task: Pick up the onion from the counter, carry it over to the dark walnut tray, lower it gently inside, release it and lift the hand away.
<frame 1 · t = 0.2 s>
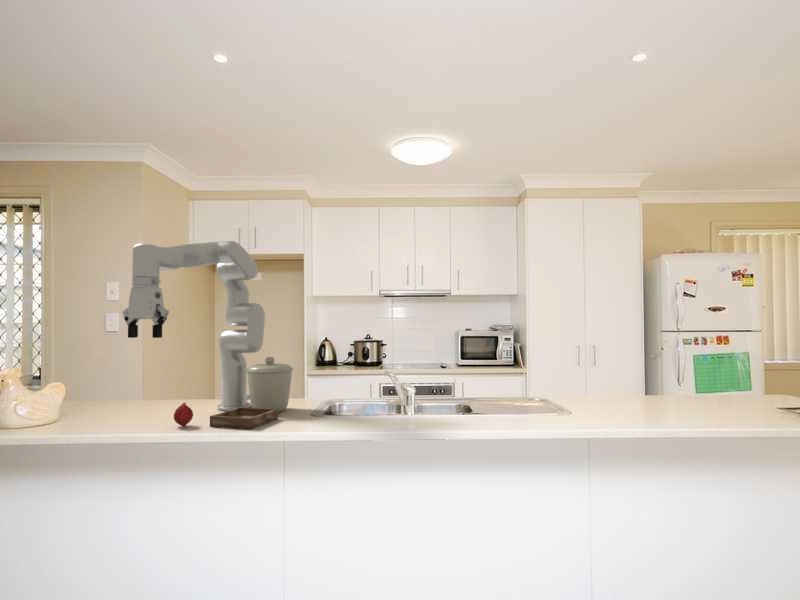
hand: (144, 337, 144), 30 cm above the worktop, tool pointing down, fingers open, 9 cm apart
onion: (183, 427, 154), on the worktop
walnut tray: (244, 422, 159), on the worktop
canister: (269, 411, 179), on the worktop
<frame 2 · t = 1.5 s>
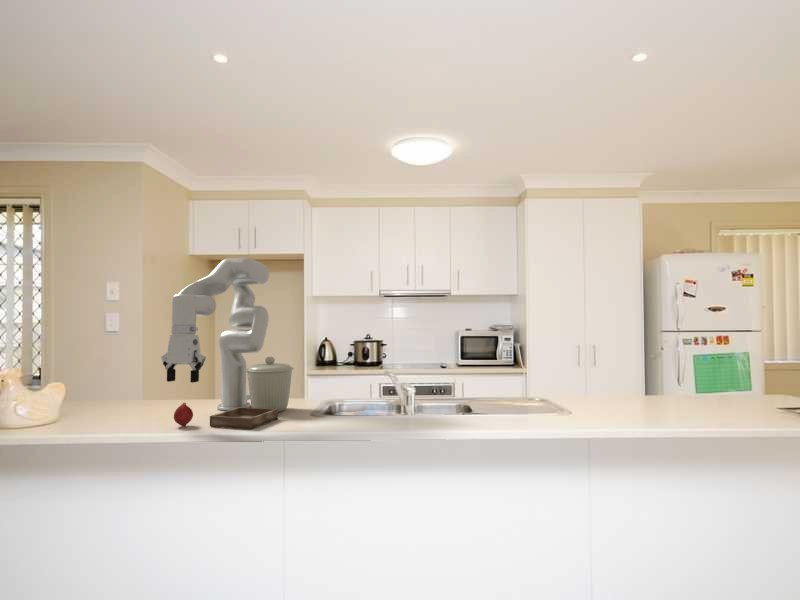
hand: (182, 381, 154), 15 cm above the worktop, tool pointing down, fingers open, 9 cm apart
nothing on the worktop moved.
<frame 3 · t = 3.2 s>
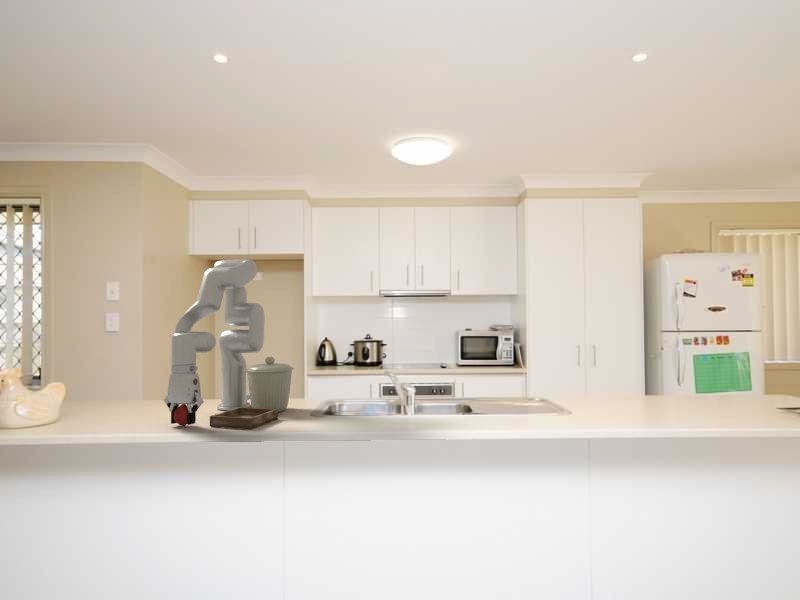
hand: (183, 422, 154), 1 cm above the worktop, tool pointing down, fingers closed on onion, 5 cm apart
onion: (183, 427, 154), on the worktop, touching gripper
everything else where it was.
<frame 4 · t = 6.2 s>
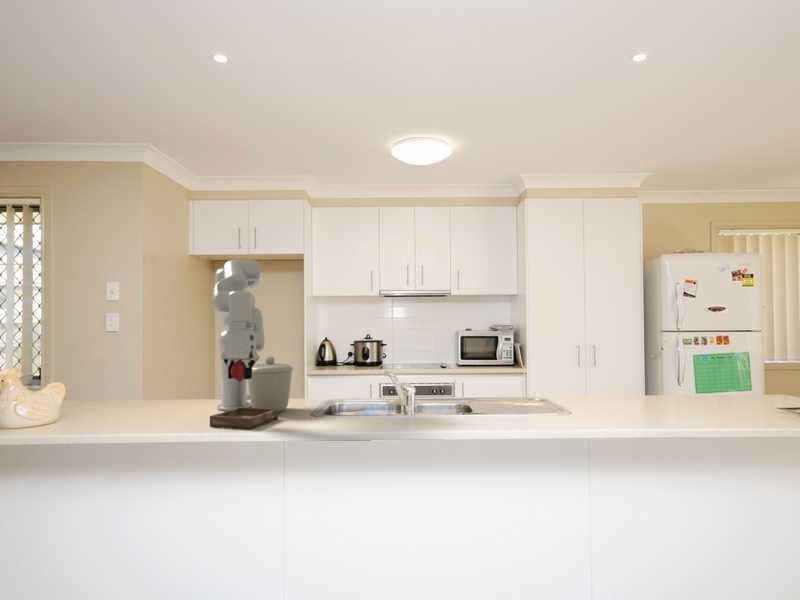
hand: (239, 378, 159), 15 cm above the worktop, tool pointing down, fingers closed on onion, 5 cm apart
onion: (239, 382, 159), point 14 cm above the worktop, touching gripper
everything else where it was.
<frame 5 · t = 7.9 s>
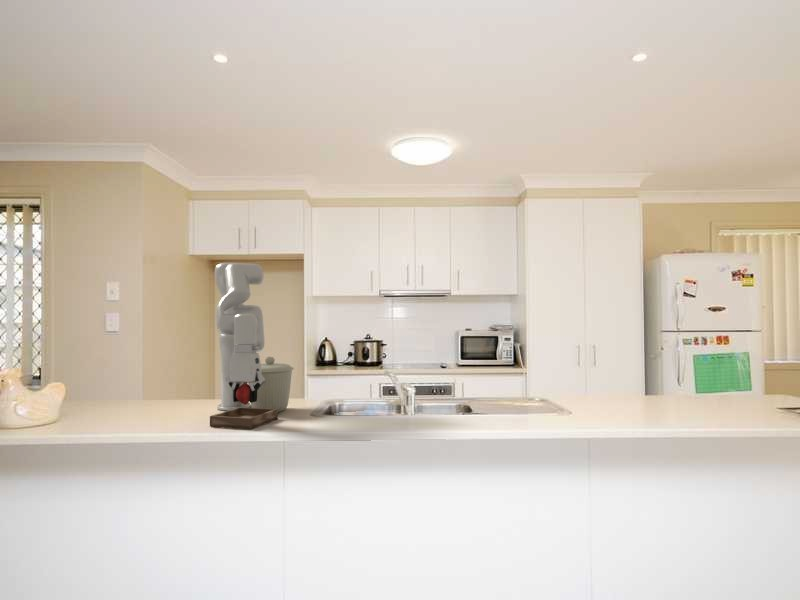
hand: (245, 401, 159), 7 cm above the worktop, tool pointing down, fingers closed on onion, 5 cm apart
onion: (244, 405, 159), point 6 cm above the worktop, touching gripper
everything else where it was.
when the fingers open (4 cm above the worktop, at t = 9.1 s): onion drops 2 cm, resting on walnut tray.
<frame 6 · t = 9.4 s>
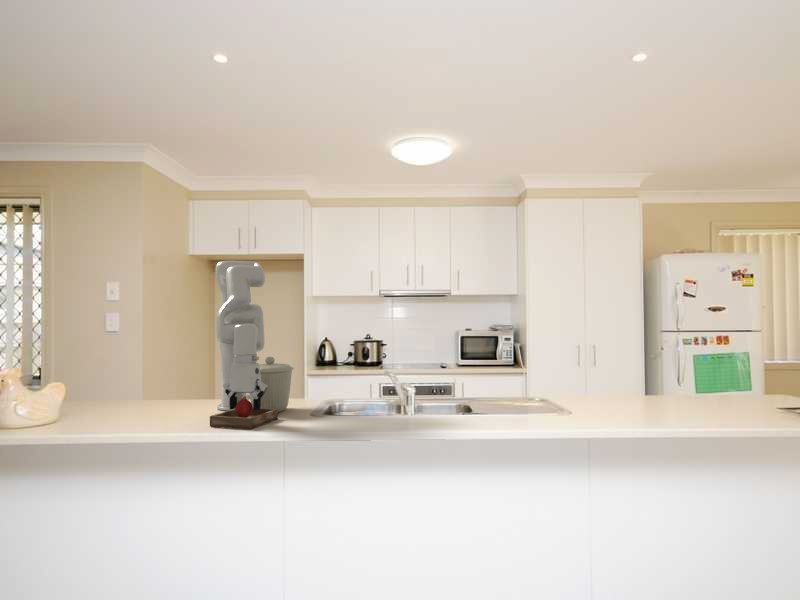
hand: (245, 409, 159), 5 cm above the worktop, tool pointing down, fingers open, 9 cm apart
onion: (244, 420, 159), point 1 cm above the worktop, touching walnut tray
everything else where it was.
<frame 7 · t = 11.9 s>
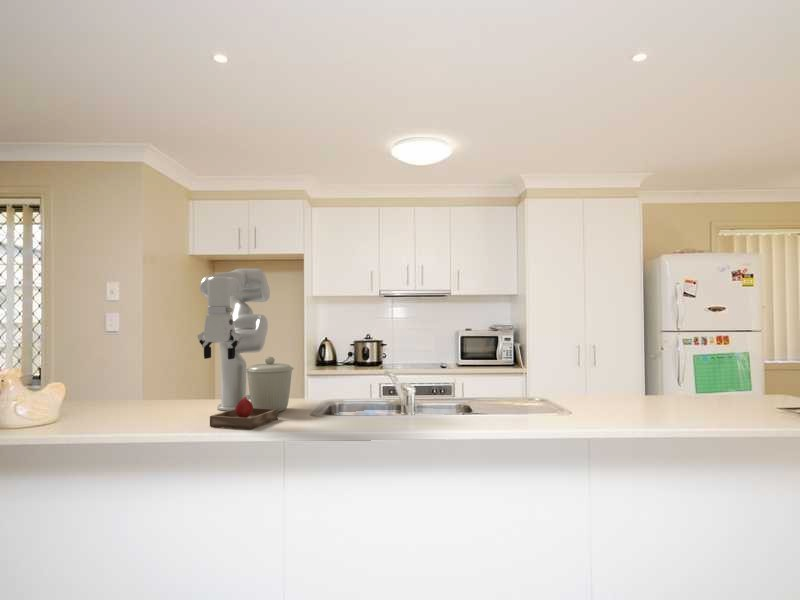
hand: (219, 358, 165), 22 cm above the worktop, tool pointing down, fingers open, 9 cm apart
nothing on the worktop moved.
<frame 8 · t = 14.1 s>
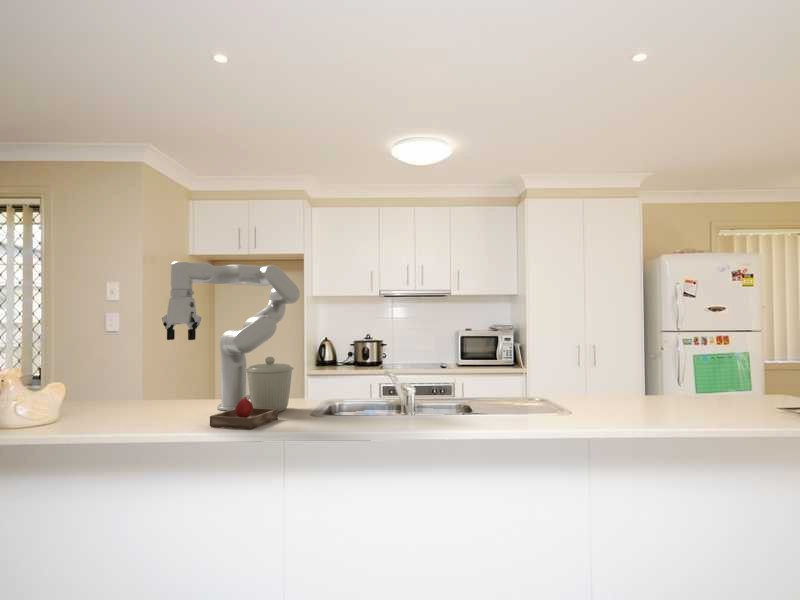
hand: (181, 339, 172), 28 cm above the worktop, tool pointing down, fingers open, 9 cm apart
nothing on the worktop moved.
at the end: onion inside the target area on the walnut tray (0.4 cm from its centre), point 0.8 cm above the walnut tray's base; the gripper is holding nothing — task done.
